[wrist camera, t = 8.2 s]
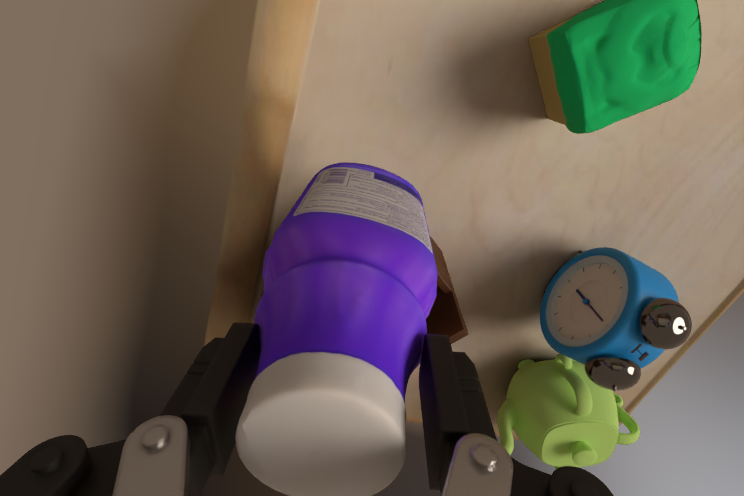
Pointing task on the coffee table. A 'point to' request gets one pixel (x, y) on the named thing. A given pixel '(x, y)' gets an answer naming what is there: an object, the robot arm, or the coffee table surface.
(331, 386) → the bottle
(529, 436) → the teapot
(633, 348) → the alarm clock
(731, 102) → the coffee table surface
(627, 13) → the cake
